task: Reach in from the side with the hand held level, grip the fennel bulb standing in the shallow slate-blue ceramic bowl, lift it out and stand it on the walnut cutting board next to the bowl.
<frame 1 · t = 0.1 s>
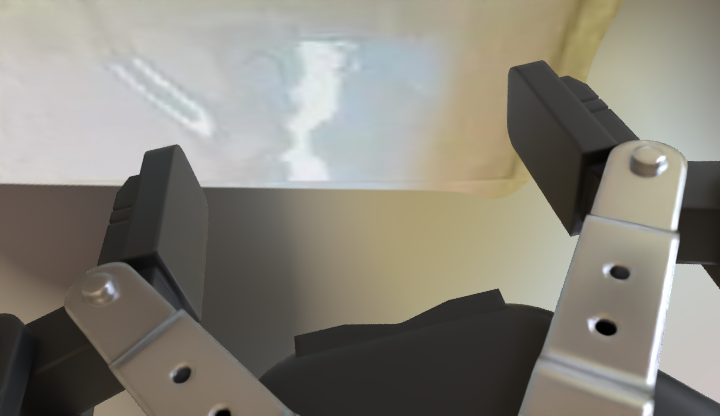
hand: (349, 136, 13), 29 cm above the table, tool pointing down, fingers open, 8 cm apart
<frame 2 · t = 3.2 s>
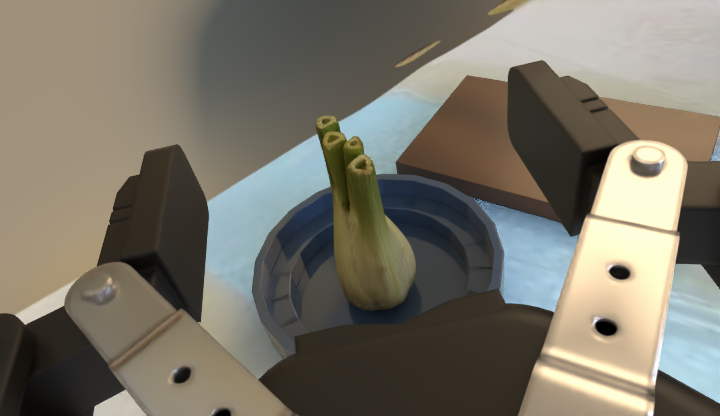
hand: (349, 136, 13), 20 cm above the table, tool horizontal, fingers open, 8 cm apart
board: (552, 155, 41), on the table
fennel bulb: (381, 287, 35), resting on bowl
bowl: (381, 288, 35), on the table
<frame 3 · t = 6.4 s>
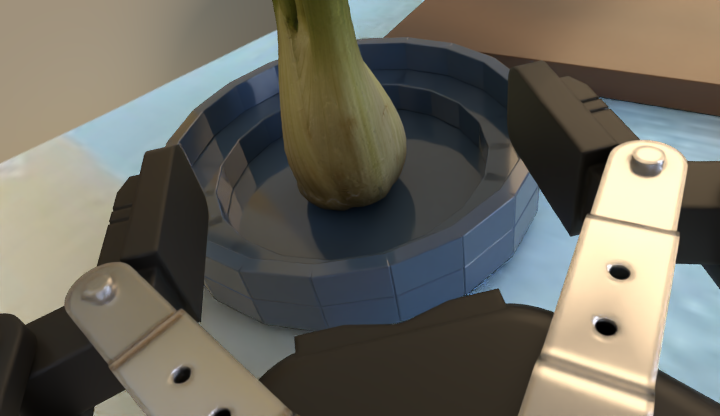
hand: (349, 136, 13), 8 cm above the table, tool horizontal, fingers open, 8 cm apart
board: (597, 30, 30), on the table
fennel bulb: (355, 185, 24), resting on bowl
bowl: (356, 187, 24), on the table
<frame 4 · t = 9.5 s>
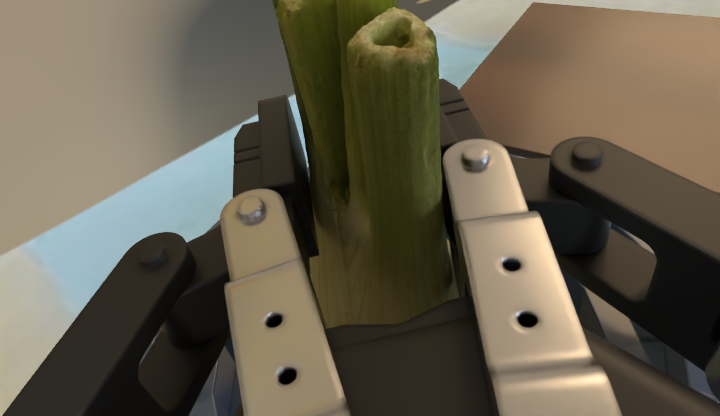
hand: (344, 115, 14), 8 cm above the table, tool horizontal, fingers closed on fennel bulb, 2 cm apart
board: (704, 118, 23), on the table
fennel bulb: (406, 368, 17), resting on bowl, touching gripper
bowl: (407, 371, 17), on the table
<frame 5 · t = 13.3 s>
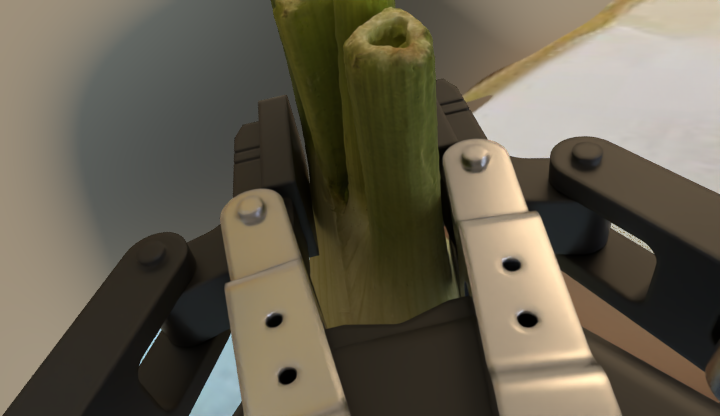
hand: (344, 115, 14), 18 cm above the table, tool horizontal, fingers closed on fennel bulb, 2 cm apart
board: (539, 380, 26), on the table
fennel bulb: (408, 368, 17), point 10 cm above the table, touching gripper
when the fingers open (9 cm above the table, at t = 16.9 s): fennel bulb stays where it is, resting on board.
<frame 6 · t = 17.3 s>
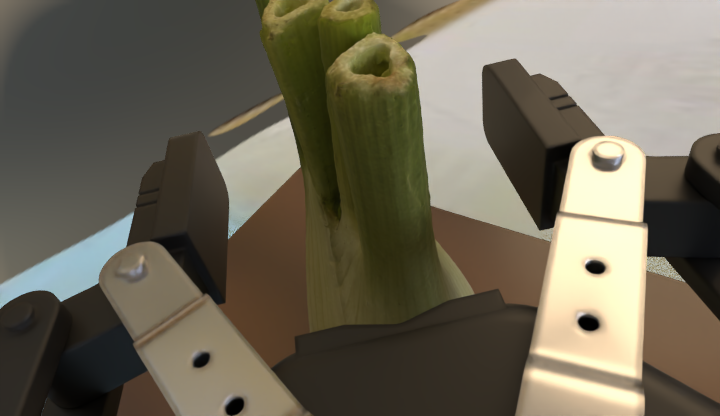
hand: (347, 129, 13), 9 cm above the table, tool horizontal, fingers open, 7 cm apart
board: (427, 387, 18), on the table
fennel bulb: (408, 376, 17), point 1 cm above the table, touching board
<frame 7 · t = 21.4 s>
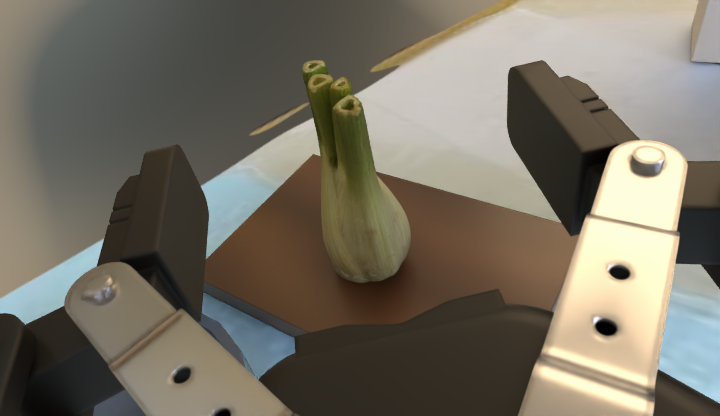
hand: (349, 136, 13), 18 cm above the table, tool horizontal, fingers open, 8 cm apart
board: (384, 269, 33), on the table
fennel bulb: (372, 260, 32), point 1 cm above the table, touching board
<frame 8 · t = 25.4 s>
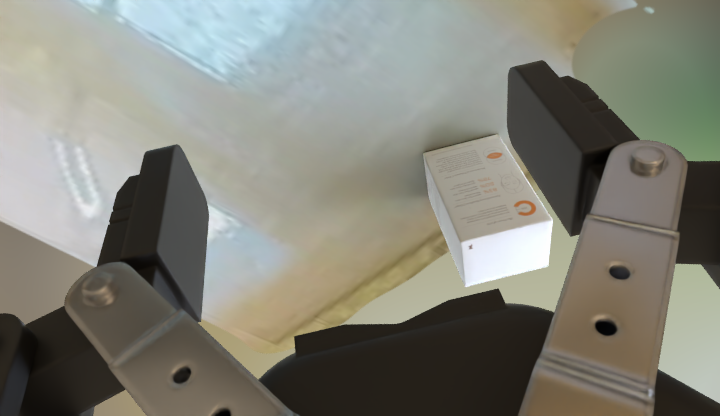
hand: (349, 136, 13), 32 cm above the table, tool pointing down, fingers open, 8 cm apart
small box: (461, 165, 57), on the table
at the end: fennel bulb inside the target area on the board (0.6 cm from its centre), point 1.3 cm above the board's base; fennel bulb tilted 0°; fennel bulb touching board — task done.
